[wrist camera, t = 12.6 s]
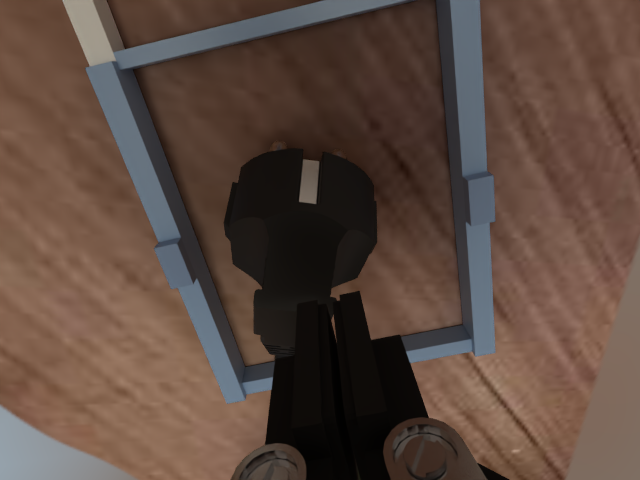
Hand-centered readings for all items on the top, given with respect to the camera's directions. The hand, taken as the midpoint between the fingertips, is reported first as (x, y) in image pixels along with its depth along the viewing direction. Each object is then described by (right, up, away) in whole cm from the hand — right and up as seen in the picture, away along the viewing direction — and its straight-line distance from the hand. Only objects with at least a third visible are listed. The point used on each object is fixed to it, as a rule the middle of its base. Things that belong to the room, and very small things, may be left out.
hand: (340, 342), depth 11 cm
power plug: (-2, +2, +9) cm, 10 cm away
